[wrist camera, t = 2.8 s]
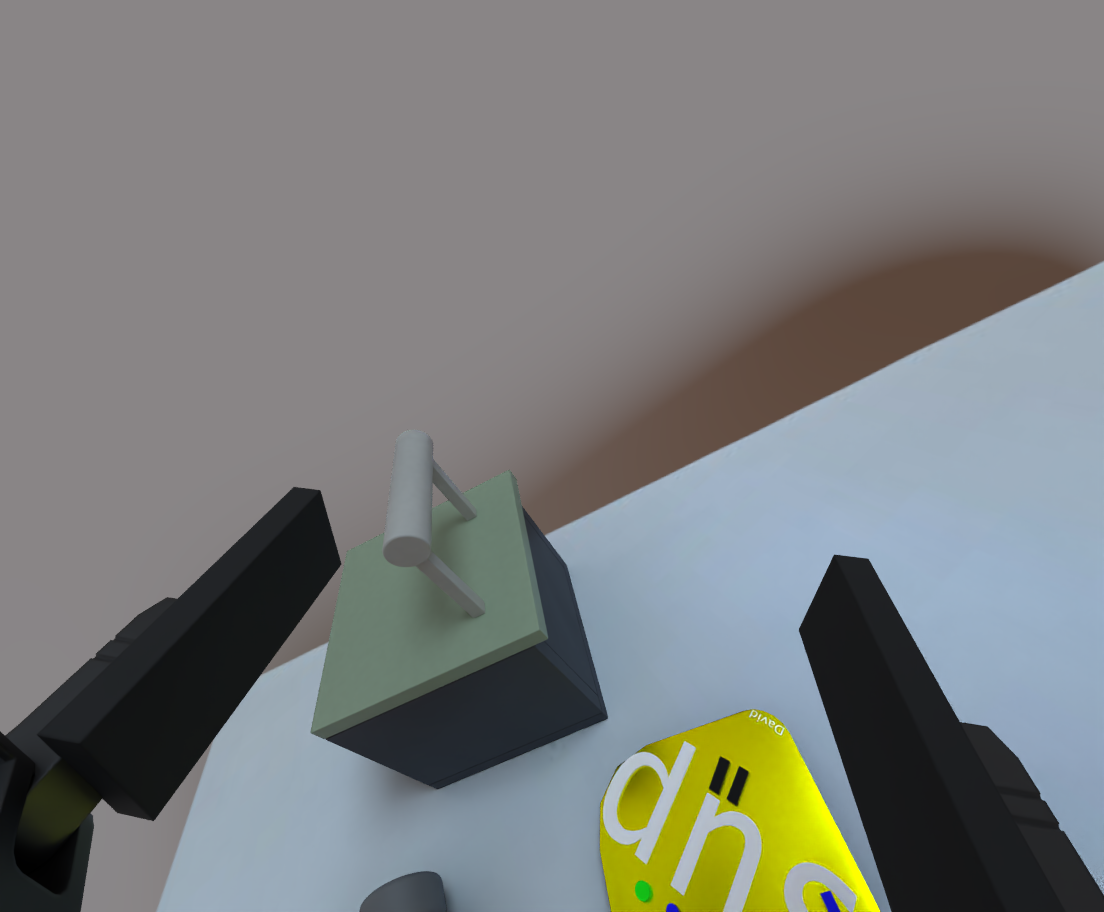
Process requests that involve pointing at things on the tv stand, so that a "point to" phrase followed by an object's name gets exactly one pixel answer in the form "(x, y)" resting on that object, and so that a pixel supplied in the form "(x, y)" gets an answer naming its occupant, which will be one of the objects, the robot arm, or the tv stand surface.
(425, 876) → the toy car
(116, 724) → the robot arm
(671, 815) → the game console
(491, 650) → the box lid
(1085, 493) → the tv stand surface
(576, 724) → the black box
